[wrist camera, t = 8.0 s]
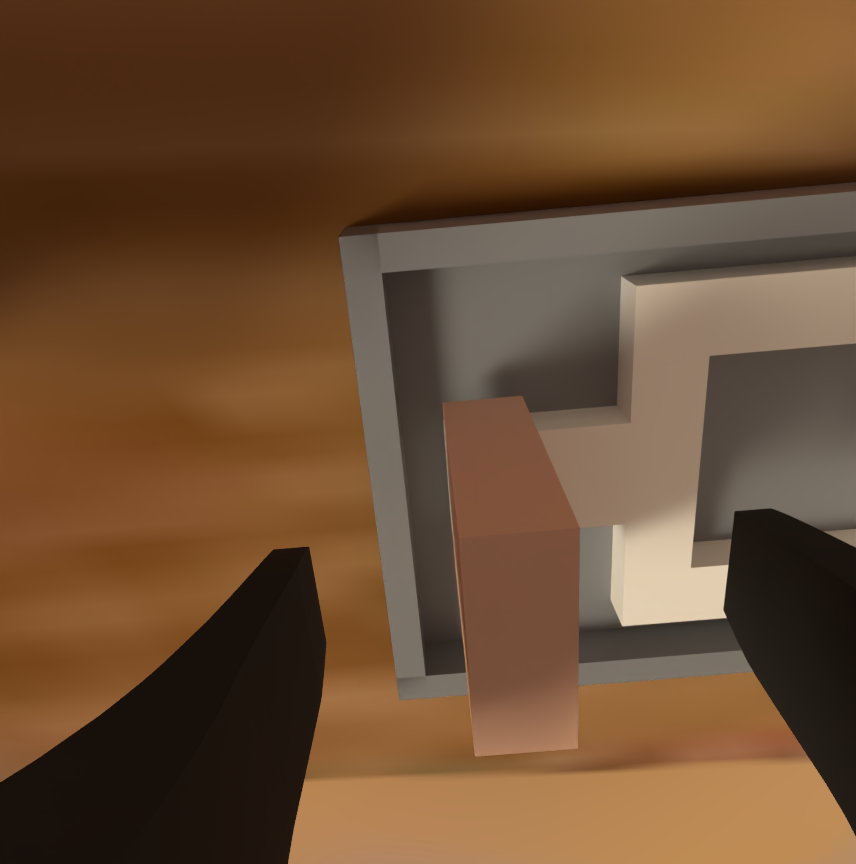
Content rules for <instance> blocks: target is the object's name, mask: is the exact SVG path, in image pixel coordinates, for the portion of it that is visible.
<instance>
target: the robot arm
mask: <svg viewBox="0 0 856 864" xmlns="http://www.w3.org/2000/svg"><path fill="white" fill-rule="evenodd" d="M723 611H724V613H725V615H726V617H727V619H728V622H729V624H730V626H731V628H732V631H733V633H734V635H735V637H736V640H737V642H738V644H739V646H740V648H741V650H742V652H743V654H744V656H745V658H746V660H747V662H748V664H749V665H750V667H751V669H752V670H753V672H754V673H755V675H756V677H757V678H758V680H759V681H760V683H761V684H762V686H763V688H764V689H765V691H766V692H767V694H768V695H769V697H770V699H771V700H772V702H773V703H774V705H775V706H776V708H777V709H778V711H779V712H780V714H781V716H782V717H783V719H784V720H785V722H786V723H787V725H788V726H789V728H790V729H791V731H792V732H793V734H794V735H795V737H796V738H797V740H798V742H799V743H800V745H801V746H802V748H803V749H804V751H805V752H806V754H807V755H808V757H809V758H810V760H811V761H812V763H813V765H814V766H815V768H816V769H817V771H818V772H819V773H820V775H821V777H822V778H823V780H824V781H825V783H826V784H827V786H828V788H829V789H830V791H831V793H832V794H833V796H834V798H835V800H836V801H837V803H838V804H839V806H840V808H841V809H842V811H843V813H844V815H845V817H846V818H847V820H848V822H849V824H850V826H851V828H852V830H853V831H854V834H855V836H856V547H854V546H852V545H850V544H848V543H846V542H844V541H842V540H840V539H838V538H836V537H834V536H832V535H830V534H827V533H825V532H823V531H821V530H819V529H817V528H815V527H813V526H811V525H809V524H807V523H805V522H803V521H800V520H798V519H796V518H794V517H792V516H789V515H787V514H785V513H782V512H780V511H777V510H775V509H772V508H767V509H755V510H743V511H735V512H734V521H733V530H732V538H731V547H730V556H729V564H728V573H727V582H726V591H725V599H724V608H723ZM325 653H326V638H325V633H324V627H323V621H322V616H321V610H320V605H319V599H318V594H317V588H316V583H315V577H314V572H313V566H312V561H311V555H310V550H309V547H299V548H287V549H275V550H273V551H272V552H271V553H270V554H269V555H268V556H267V557H266V558H265V559H264V560H263V561H262V562H261V563H260V565H259V566H258V567H257V568H256V569H255V570H254V571H253V572H252V573H251V574H250V576H249V577H248V578H247V579H246V580H245V581H244V582H243V583H242V584H241V585H240V587H239V588H238V589H237V590H236V591H235V592H234V593H233V594H232V595H231V596H230V598H229V599H228V600H227V601H226V602H225V603H224V604H223V605H222V606H221V607H220V608H219V609H218V610H217V611H216V612H215V613H214V614H213V616H212V617H211V618H210V619H209V620H208V621H207V622H206V623H205V624H204V625H203V626H202V627H201V628H200V629H199V630H198V631H197V632H195V633H194V634H193V635H192V636H191V637H190V638H189V639H188V640H187V641H186V642H185V643H184V644H183V645H182V646H181V647H180V648H179V649H178V650H177V651H176V652H175V653H174V654H173V655H171V656H170V657H169V658H168V659H167V660H166V661H165V662H164V663H163V664H162V665H161V666H160V667H159V668H157V669H156V670H155V671H154V672H153V673H152V674H151V675H149V676H148V677H147V678H146V679H145V680H143V681H142V682H141V683H140V684H139V685H138V686H136V687H135V688H134V689H133V690H131V691H130V692H129V693H128V694H126V695H125V696H124V697H123V698H121V699H120V700H119V701H118V702H116V703H115V704H114V705H113V706H111V707H110V708H109V709H107V710H106V711H105V712H103V713H102V714H101V715H100V716H98V717H97V718H95V719H94V720H93V721H91V722H90V723H88V724H87V725H85V726H84V727H83V728H81V729H80V730H78V731H77V732H75V733H74V734H73V735H71V736H70V737H68V738H67V739H65V740H64V741H63V742H61V743H60V744H58V745H57V746H55V747H54V748H53V749H51V750H50V751H48V752H47V753H45V754H44V755H43V756H41V757H40V758H38V759H37V760H35V761H34V762H32V763H31V764H29V765H27V766H26V767H24V768H23V769H21V770H19V771H18V772H16V773H15V774H13V775H11V776H10V777H8V778H7V779H5V780H4V781H2V782H0V864H288V859H289V853H290V847H291V841H292V835H293V829H294V825H295V820H296V815H297V811H298V806H299V801H300V797H301V792H302V787H303V783H304V778H305V774H306V769H307V764H308V760H309V755H310V750H311V746H312V741H313V736H314V732H315V727H316V722H317V717H318V713H319V708H320V703H321V698H322V688H323V677H324V666H325Z"/></svg>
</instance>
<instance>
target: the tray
mask: <svg viewBox="0 0 856 864" xmlns="http://www.w3.org/2000/svg"><path fill="white" fill-rule="evenodd" d="M338 238H339V245H340V253H341V260H342V268H343V276H344V283H345V291H346V298H347V306H348V314H349V321H350V329H351V336H352V344H353V352H354V359H355V367H356V374H357V382H358V390H359V397H360V405H361V412H362V420H363V428H364V435H365V443H366V450H367V458H368V466H369V473H370V481H371V488H372V496H373V504H374V511H375V519H376V526H377V534H378V542H379V549H380V557H381V564H382V572H383V580H384V587H385V595H386V602H387V610H388V618H389V625H390V633H391V640H392V648H393V655H394V663H395V671H396V678H397V686H398V693H399V700H410V699H422V698H435V697H447V696H460V695H469V693H468V684H467V674H466V664H465V655H464V645H463V636H462V626H461V616H460V607H459V597H458V588H457V578H456V568H455V556H454V543H453V532H452V523H451V513H450V500H449V488H448V475H447V462H446V450H445V437H444V424H443V420H444V416H443V403H442V402H454V401H466V400H477V399H489V398H501V397H513V396H523V399H524V401H525V403H526V405H527V408H528V410H529V412H530V413H534V412H546V411H558V410H569V409H581V408H593V407H605V406H617V388H618V357H619V327H620V296H621V276H630V275H641V274H653V273H664V272H676V271H687V270H699V269H710V268H722V267H733V266H745V265H756V264H768V263H779V262H791V261H803V260H814V259H826V258H837V257H849V256H856V182H850V183H838V184H827V185H816V186H805V187H793V188H782V189H771V190H760V191H748V192H737V193H726V194H714V195H703V196H692V197H681V198H669V199H658V200H647V201H636V202H624V203H613V204H602V205H591V206H579V207H568V208H557V209H545V210H534V211H523V212H512V213H500V214H489V215H478V216H467V217H455V218H444V219H433V220H421V221H410V222H399V223H388V224H376V225H365V226H354V227H346V228H345V229H344V230H343V232H342V233H341V234H340V236H339V237H338ZM767 508H772V509H775V510H777V511H780V512H782V513H785V514H787V515H789V516H792V517H794V518H796V519H798V520H800V521H803V522H805V523H807V524H809V525H811V526H813V527H815V528H817V529H819V530H821V531H834V530H847V529H856V343H855V344H843V345H831V346H820V347H808V348H796V349H784V350H773V351H761V352H749V353H738V354H726V355H714V356H710V357H709V368H708V380H707V391H706V402H705V413H704V425H703V436H702V447H701V458H700V470H699V481H698V492H697V503H696V515H695V526H694V537H693V542H701V541H713V540H725V539H731V538H732V530H733V521H734V512H735V511H743V510H755V509H767ZM612 541H613V525H609V526H597V527H585V528H580V575H579V677H578V686H584V685H596V684H608V683H621V682H633V681H646V680H658V679H671V678H683V677H695V676H708V675H720V674H733V673H745V672H753V670H752V669H751V667H750V665H749V664H748V662H747V660H746V658H745V656H744V654H743V652H742V650H741V648H740V646H739V644H738V642H737V640H736V637H735V635H734V633H733V631H732V628H731V626H730V624H729V622H728V619H727V618H719V619H707V620H694V621H682V622H670V623H657V624H645V625H633V626H622V625H621V622H620V620H619V618H618V616H617V613H616V611H615V609H614V606H613V604H612V602H611V572H612Z"/></svg>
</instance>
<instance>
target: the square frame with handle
mask: <svg viewBox="0 0 856 864" xmlns="http://www.w3.org/2000/svg"><path fill="white" fill-rule="evenodd" d="M855 343H856V256H849V257H837V258H826V259H814V260H803V261H791V262H779V263H768V264H756V265H745V266H733V267H722V268H710V269H699V270H687V271H676V272H664V273H653V274H641V275H630V276H621V296H620V327H619V357H618V388H617V406H605V407H593V408H581V409H569V410H558V411H546V412H534V413H530V412H529V410H528V408H527V405H526V403H525V401H524V399H523V396H513V397H501V398H489V399H477V400H466V401H454V402H442V403H443V416H444V420H443V424H444V437H445V450H446V462H447V475H448V488H449V500H450V513H451V523H452V532H453V543H454V556H455V568H456V578H457V588H458V597H459V607H460V616H461V626H462V636H463V645H464V655H465V664H466V674H467V684H468V693H469V703H470V712H471V722H472V732H473V741H474V751H475V757H476V756H489V755H502V754H514V753H527V752H540V751H552V750H565V749H578V677H579V575H580V528H585V527H597V526H609V525H613V541H612V572H611V602H612V604H613V606H614V609H615V611H616V613H617V616H618V618H619V620H620V622H621V625H622V626H633V625H645V624H657V623H670V622H682V621H694V620H707V619H719V618H727V617H726V615H725V613H724V611H723V608H724V599H725V591H726V582H727V573H728V564H729V556H730V547H731V539H725V540H713V541H701V542H693V537H694V526H695V515H696V503H697V492H698V481H699V470H700V458H701V447H702V436H703V425H704V413H705V402H706V391H707V380H708V368H709V357H710V356H714V355H726V354H738V353H749V352H761V351H773V350H784V349H796V348H808V347H820V346H831V345H843V344H855ZM823 532H825V533H827V534H830V535H832V536H834V537H836V538H838V539H840V540H842V541H844V542H846V543H848V544H850V545H852V546H854V547H856V529H847V530H834V531H823Z"/></svg>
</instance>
